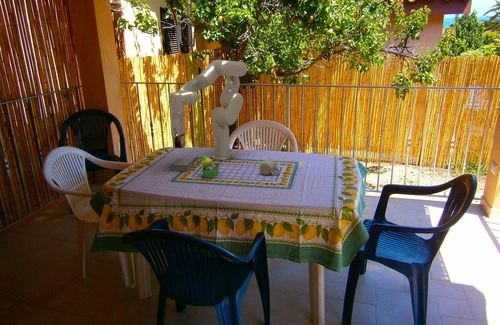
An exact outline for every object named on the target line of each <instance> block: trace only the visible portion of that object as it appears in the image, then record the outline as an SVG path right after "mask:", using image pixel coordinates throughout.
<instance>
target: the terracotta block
mask: <svg viewBox="0 0 500 325" xmlns="http://www.w3.org/2000/svg"><path fill="white" fill-rule="evenodd" d="M176 136H178V135H177V134H176ZM177 138H178V137H177ZM172 139H173V148H174V149H176V148H175V141H174V138H173V137H172ZM186 143H187V142H186V136H185V135H184V136H180V144H181V148H180V149H183V148H185V147H186V146H187V144H186Z"/></svg>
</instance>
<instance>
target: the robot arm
mask: <svg viewBox="0 0 500 325" xmlns="http://www.w3.org/2000/svg"><path fill="white" fill-rule="evenodd" d="M247 71H248V66H247V64H246V63H245V62H243V61H235V60H226V59H215V60H213V61H211V62H210V63H209V64H208V65H207V66H206V68H204V69H203V71H201V73H199V74H198V75H197V76H195V77H193V78H192V79H190V80H188V81H187V82H186V83H185V84H183V85H182V86H181V87H180V89H178V91H174V92H173V91H172V92H170V93H169V94H168V99H169V100H168V102H169V111H170V133H171V134H170V135H171V136H172V139H173V138H174V140H173V142H174V141H175V148H174V149H182V148H181V144H180V136H185V133H186V122H185V117H186V116H185V107H184V106H185V105H187V106H190V105H191V106H192V105H194V104H196V103H197V102H198V101H199V96H198V94H197V93H196V92H197V91H199V90H202V89H206V88H209V87H210V86H211V85H212V84H213V83H214V82H215V81H216V80H217V79H218V78H219V77H220V76H225V77H226V80H225V81H226V83H225V86H224V87H223V89H222V92H221V94H220V95H221V96H220V97H219V104H220V106H221V107H220V106H216V107H214V108H213V109H212V110H211V113H210V117H211V118H210V119H211V124H212V129H213V145H214V154H212V160H213V159H214V160H217V161H226V160H230V159H232V158H233V156H235V157H236V156H237V152H236V151H232V149H231V148H230V147H231V146H230V128H229V126H232V125H234V124H235V123H236V121H237V120H238V117H239V114H240V112H241V111H242V107H243V105H244V98H243V95H242V94H241V93H240V92H239V89H240V87H241V86H240V85H241V83H240V82H241V81H240V77H243V76H245V75H246V73H248V72H247ZM177 135H178V136H177ZM177 137H178V138H177Z"/></svg>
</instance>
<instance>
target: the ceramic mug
mask: <svg viewBox="0 0 500 325" xmlns="http://www.w3.org/2000/svg"><path fill="white" fill-rule="evenodd" d="M277 166H278V165H277V162H276V161H275V159H273V158H271V157H268V158H266V159H265V160H263V162H261V163H260V164H259V172H260V173H261V174H262V175H265V176H268V175H273V176H279V175H280V172H281V171H280V169H279V168H278V167H277ZM275 171H276V172H275Z"/></svg>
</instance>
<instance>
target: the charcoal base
mask: <svg viewBox="0 0 500 325" xmlns="http://www.w3.org/2000/svg"><path fill="white" fill-rule="evenodd" d="M169 166H170V171H171V172H181V173H182V172H183V173H185V172H186V173H187V172H189V171H191V169H193V167H194V159H187V158H185V159H184V158H177V159H175V160H174V161H172V162H171V163H170V164H169Z"/></svg>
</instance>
